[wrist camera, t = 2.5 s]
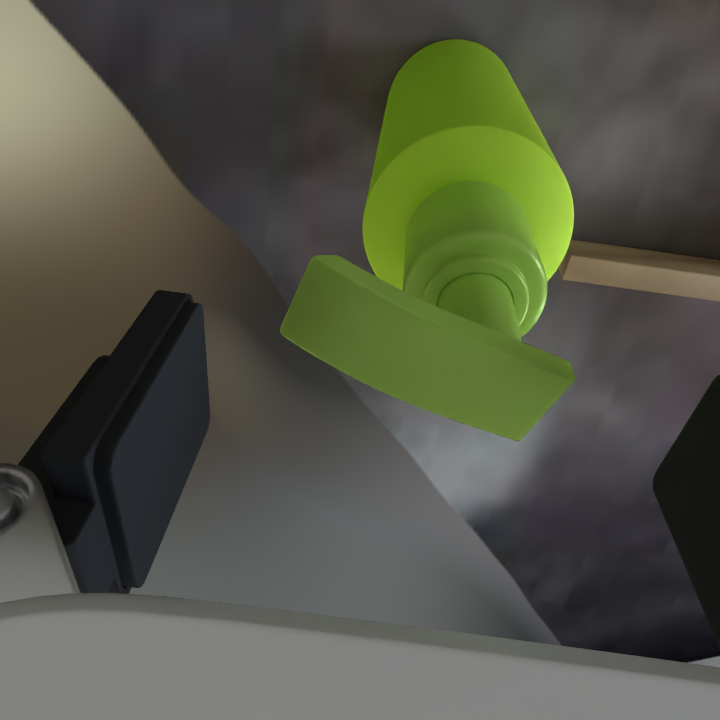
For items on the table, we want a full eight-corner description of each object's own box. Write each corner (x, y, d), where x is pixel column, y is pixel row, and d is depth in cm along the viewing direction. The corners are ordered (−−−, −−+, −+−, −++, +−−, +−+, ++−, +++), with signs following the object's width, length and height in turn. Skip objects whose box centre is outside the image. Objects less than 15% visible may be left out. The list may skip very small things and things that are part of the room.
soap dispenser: (401, 1, 24) (357, 159, 8) (542, 77, 25) (732, 340, 10) (346, 131, 28) (240, 418, 12) (472, 193, 29) (529, 526, 13)
